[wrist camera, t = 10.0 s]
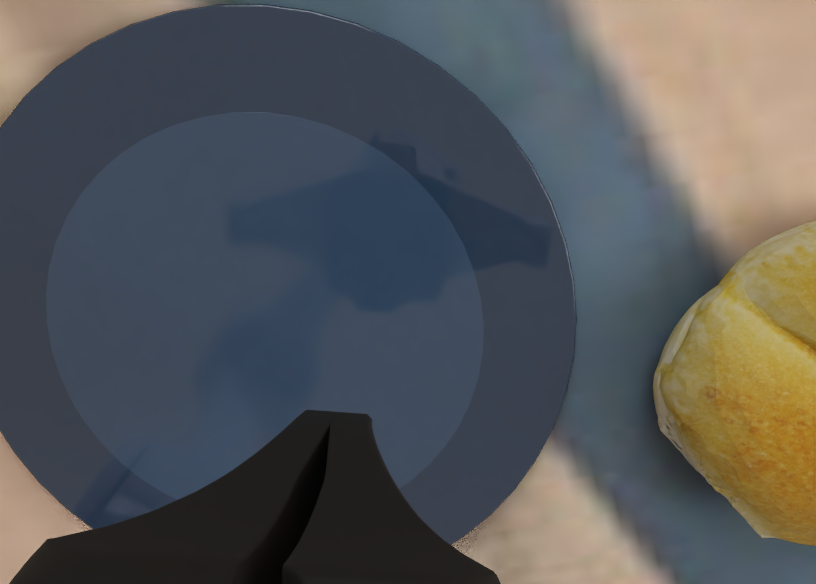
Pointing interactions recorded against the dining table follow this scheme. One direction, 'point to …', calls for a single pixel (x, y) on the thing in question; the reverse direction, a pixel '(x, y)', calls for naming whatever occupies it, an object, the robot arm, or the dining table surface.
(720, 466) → the bread roll
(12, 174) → the plate
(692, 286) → the dining table surface
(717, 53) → the dining table surface
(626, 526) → the dining table surface
